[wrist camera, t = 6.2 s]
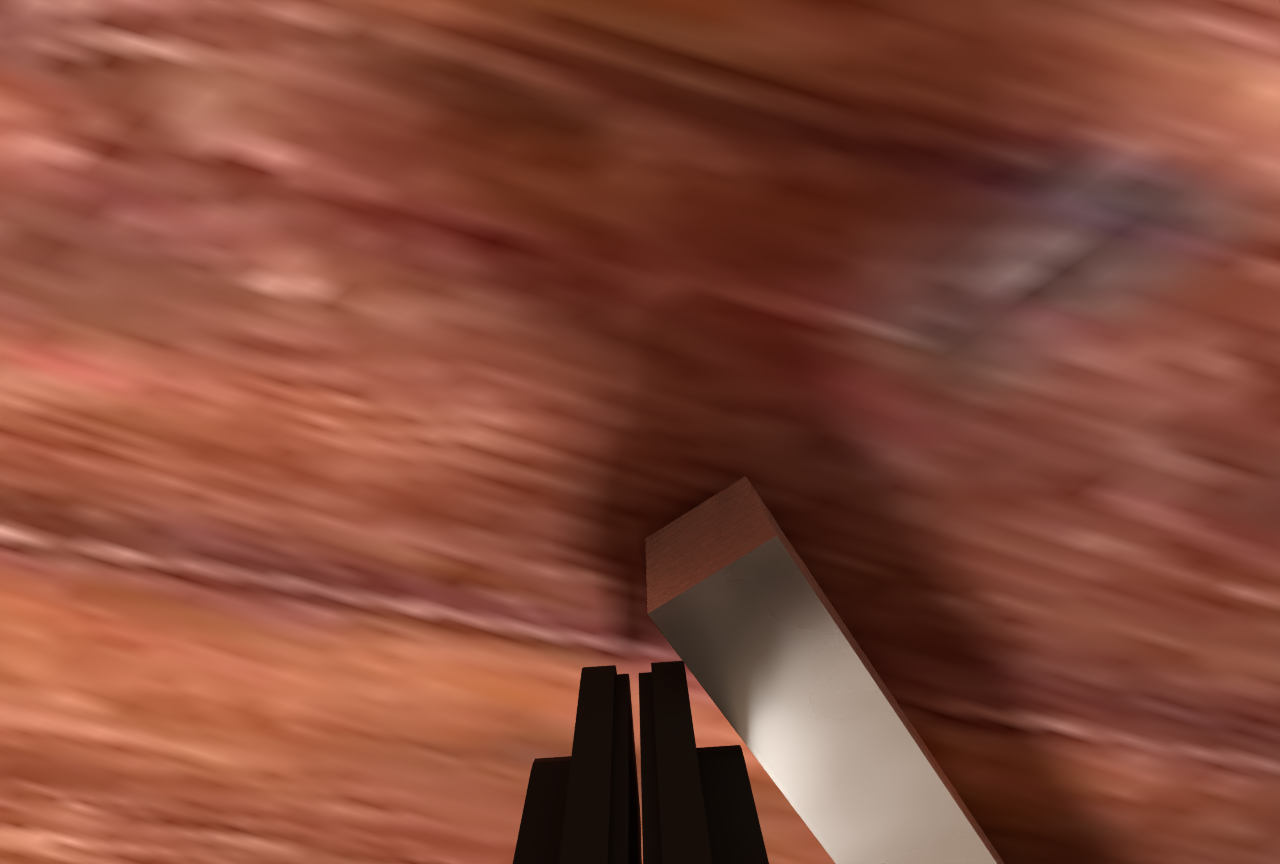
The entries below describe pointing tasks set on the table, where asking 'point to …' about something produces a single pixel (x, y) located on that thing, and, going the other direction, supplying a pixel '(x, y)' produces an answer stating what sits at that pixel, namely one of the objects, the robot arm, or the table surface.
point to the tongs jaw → (802, 688)
